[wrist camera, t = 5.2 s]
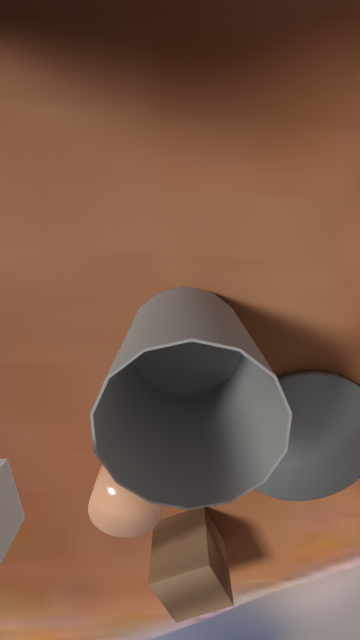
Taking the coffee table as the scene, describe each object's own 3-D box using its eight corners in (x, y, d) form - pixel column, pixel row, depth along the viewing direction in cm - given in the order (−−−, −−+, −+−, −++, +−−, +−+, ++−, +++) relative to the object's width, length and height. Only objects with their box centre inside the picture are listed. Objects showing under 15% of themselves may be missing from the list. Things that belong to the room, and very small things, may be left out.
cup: (257, 302, 21) (322, 365, 11) (226, 400, 23) (258, 521, 14) (139, 275, 20) (104, 320, 11) (120, 380, 23) (77, 491, 13)
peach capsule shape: (101, 434, 24) (82, 484, 20) (161, 430, 24) (157, 480, 19) (110, 482, 26) (94, 539, 21) (167, 478, 26) (164, 535, 21)
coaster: (227, 376, 23) (229, 381, 22) (386, 365, 22) (393, 369, 22) (231, 497, 26) (233, 505, 26) (368, 488, 26) (374, 496, 25)
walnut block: (153, 521, 27) (148, 584, 23) (203, 504, 27) (209, 565, 22) (176, 556, 29) (176, 622, 24) (224, 541, 28) (233, 605, 23)
